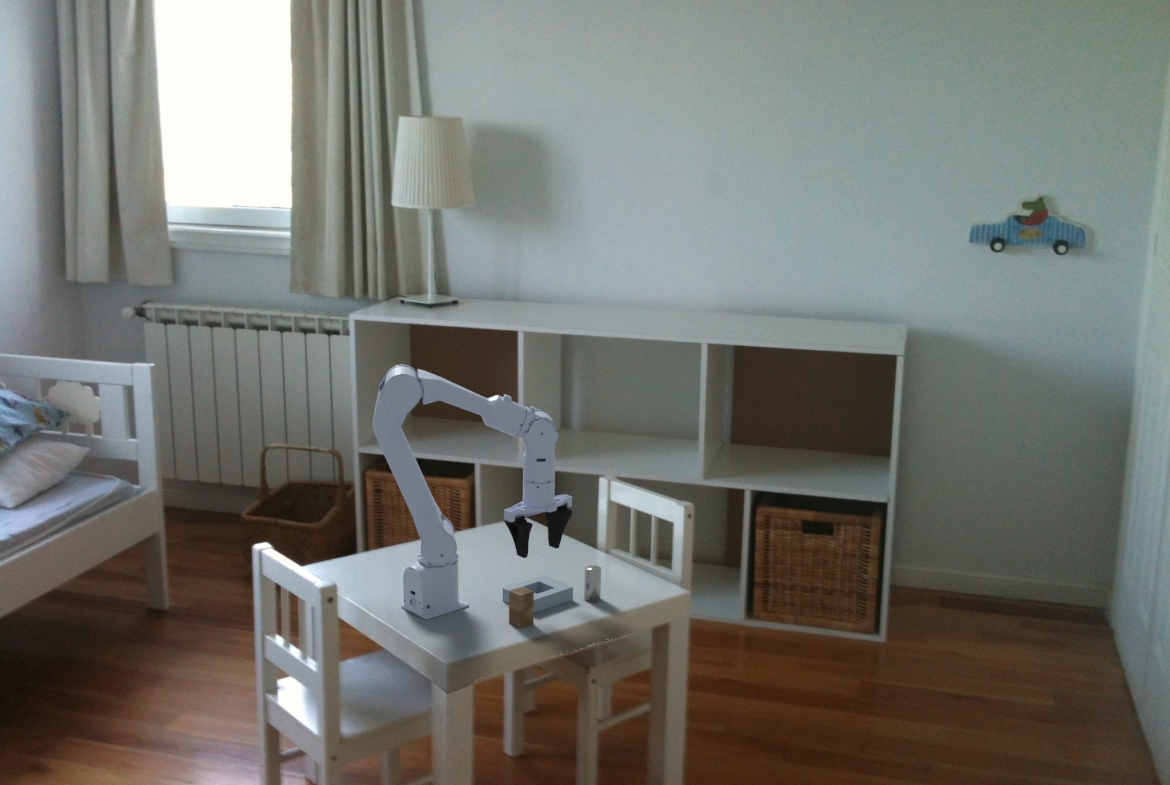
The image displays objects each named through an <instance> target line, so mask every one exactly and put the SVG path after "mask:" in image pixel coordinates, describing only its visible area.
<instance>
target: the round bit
mask: <svg viewBox="0 0 1170 785" xmlns="http://www.w3.org/2000/svg"><path fill="white" fill-rule="evenodd" d="M601 581H602V567H601V566H599V565H593V564H591V565H586V566H584V580H583V582H584V583H583V584H584V585H583V586H584V587H583V589H584V590H583V593H584V594H583V600H584V601H585V602H588V603H598V602H600V601H601V588H602V587H601V586H602V585H601Z"/></svg>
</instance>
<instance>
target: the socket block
mask: <svg viewBox="0 0 1170 785" xmlns="http://www.w3.org/2000/svg"><path fill="white" fill-rule="evenodd" d="M519 587H525V588H527V589H529V590H532V591H534V614H536V613H539V612H542V611H545V610H547V609H550V608H553V607H556V606H559V605H562V604H565V603H568V602H571V601H574V587H573V586H572V585H569V584H566V583H564V582H563V581H559V580H557V579H554V578H552V577H550V576H547V575H544V574H543V575H541V576H537V577H534V578H530V579H527V580H524V581H521V582H518V583H515V584H510V585H508V586H505V587H503V588H502V602H504V603H506V604H508V605H509V591H510V590H513V589H516V588H519Z"/></svg>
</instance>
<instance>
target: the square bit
mask: <svg viewBox="0 0 1170 785" xmlns="http://www.w3.org/2000/svg"><path fill="white" fill-rule="evenodd" d="M534 614H535V613H534V591H532V590H529V589H527V588H525V587H519V588H516V589H513V590H510V591H509V604H508V624H509V625H512V626H513V627H516V628H518V629H523V628H526V627H528V626H531V625H534Z"/></svg>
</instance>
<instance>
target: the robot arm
mask: <svg viewBox="0 0 1170 785" xmlns="http://www.w3.org/2000/svg"><path fill="white" fill-rule="evenodd" d="M421 399H422V405H429V404H431V403H435V402H441V403H442V402H443V403H446V404H448V405H451V406H454V407H457V408H459V409H462V410H464V411H468V412H470V413H473V414H476V415H479V416H481V419H482V421H483V424H484V425H485V426H486V427H489V428H492V429H493V430H496V431H499V432H502V433H504V434H507V435H509V436H512V437H513V438H517V439H524V441H523V442H524V443H523V444H524V449H523V451H524V452H523V453H522V454H523V455H522V500H521V501H520V502H518V503H516V504H514V505H512V506H511V507H507V508H505V509H504V510H503V520H504V524H505V525H506V527H507V529H508V531H509V533H510V535H511V538H512V540H513V544H514V547H515V551H516V555H517V556H518V557H521V558H523V559H527V558H528V555H529V545H530V544H529V542H530V535H531V531H532V528H533V523H532V522H529V521H527V519H526V518H527V517H531V516H535V515H538V514H542V513H545V514H544V515H545V518H546V523H547V539H548V547H551V548H554V549H559V548H560V545H561V542H562V538H563V535H564V531H565V528H566V526H568V525H567V524H568V522H569V520H570V519H571V518H572V516H573V510H572V509H570V508H571V507H573V496H571V495H568V494H566V493H565V494H559V495H555V494H556V493H555V492H556V490H555V489H556V454H555V450H556V446H555V444H556V442H557V441H558V439H559V432H558V428H557V426H556V424H555V422H554V420H553V419H552V417H551V416H550V414H548V413H546V412H545V411H544V410H542V409H540V408H538V409H537V408H536V407H534V406H532V405H530V407H528V406H525V405H522V404H521V403H519V402H516V401H513V399H512V396H510V395H508V394H503V396H501V395H499V394H496V395H494V396H490V397H485V396H482V395H480V394H478V393H476V392H474V391H472V390H470V389H468V388H466V387H463V386H462V385H459V384H457V383H454V382H453V381H451V380H449V379H448V380H447V379H446V378H444V377H442V376H440V375H437V374H434V373H432V372H429V371H427V370H424V369H420V368H417V370H416V369H415V368H414V367H412V366H410V365H408V364H396V365H394V366H392V367H391V368H389V369H388V370H387V372H386V373H385V375H384V376H383V379H382V380H381V381H380V383H379V386H378V392H377V396H376V402H375V406H374V412H373V417H372V424H371V428H372V432H373V433H374V436H375V438H376V440H377V443H378V445H379V447H380V449H381V452H382V453H383V455H384V458H385V459H386V463H387V464H388V467H389V469H390V470H391V473H392V476H393V478H394V480H395V481H396V485H397V486H398V488H399V491H400V493H401V496H402V497H403V499H404V501H405V503H406V505H407V507H408V510H409V512H410V514H411V517H412V520H413V522H414V526H415V528H416V531H417V533H418V536H419V538H420V553H418V554H417V560H416V561H415V562H414V563H413V564H411V565H410V566H407V567H406V568H405V570H404V572H403V577H402V578H403V579H402V582H403V603H401V604H400V606H401V608H402V609H404V610H406V611H409V612H410V613H412V614H415V615H417V616H418V617H420V618H421V619H424V620H430V619H433V618H435V617H436V618H437V617H440V616H442V615H446V614H449V613H453V612H456V611H458V610H461V609H464V608H468V607H469V603H468V602H466V601H464V600H462V599H460V598H459V554H458V553H457V551H458V544H457V541H456V538H455V528H454V525H453V523H452V521H451V520H449V519H448V518H447V517H446V516H445V515H444V514H443V513H442V511H441V509H440V506H439V505H438V504H437V502H436V501H435V498H434V496H433V494H432V492H431V490H430V487H429V485H428V483H427V481H426V479H425V476H424V474H423V472H422V470H421V467H420V465H419V463H418V461H417V458H416V457H415V454H414V451H413V450H412V448H411V445H410V443H409V441H408V439H407V436H406V435H405V432H404V429H403V428H402V426H403V424H404V421H405V420H406V418H407V415H408V414H409V412H411V410H413V409H414V408H415V407H416V406H417V404H418V403H419V402H420V401H421Z"/></svg>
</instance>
